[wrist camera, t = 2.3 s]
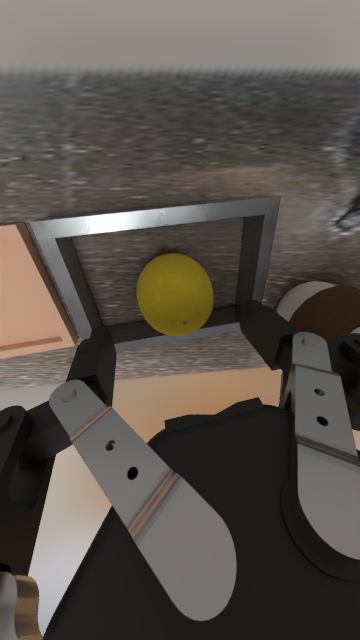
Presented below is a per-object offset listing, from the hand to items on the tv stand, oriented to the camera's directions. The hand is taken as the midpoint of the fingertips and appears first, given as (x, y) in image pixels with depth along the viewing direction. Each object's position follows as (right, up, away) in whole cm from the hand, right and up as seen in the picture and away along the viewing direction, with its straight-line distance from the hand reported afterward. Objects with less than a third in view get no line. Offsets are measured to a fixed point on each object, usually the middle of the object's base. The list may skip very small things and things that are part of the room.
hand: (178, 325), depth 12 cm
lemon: (-1, +5, +6) cm, 8 cm away
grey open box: (-1, +4, +6) cm, 8 cm away
